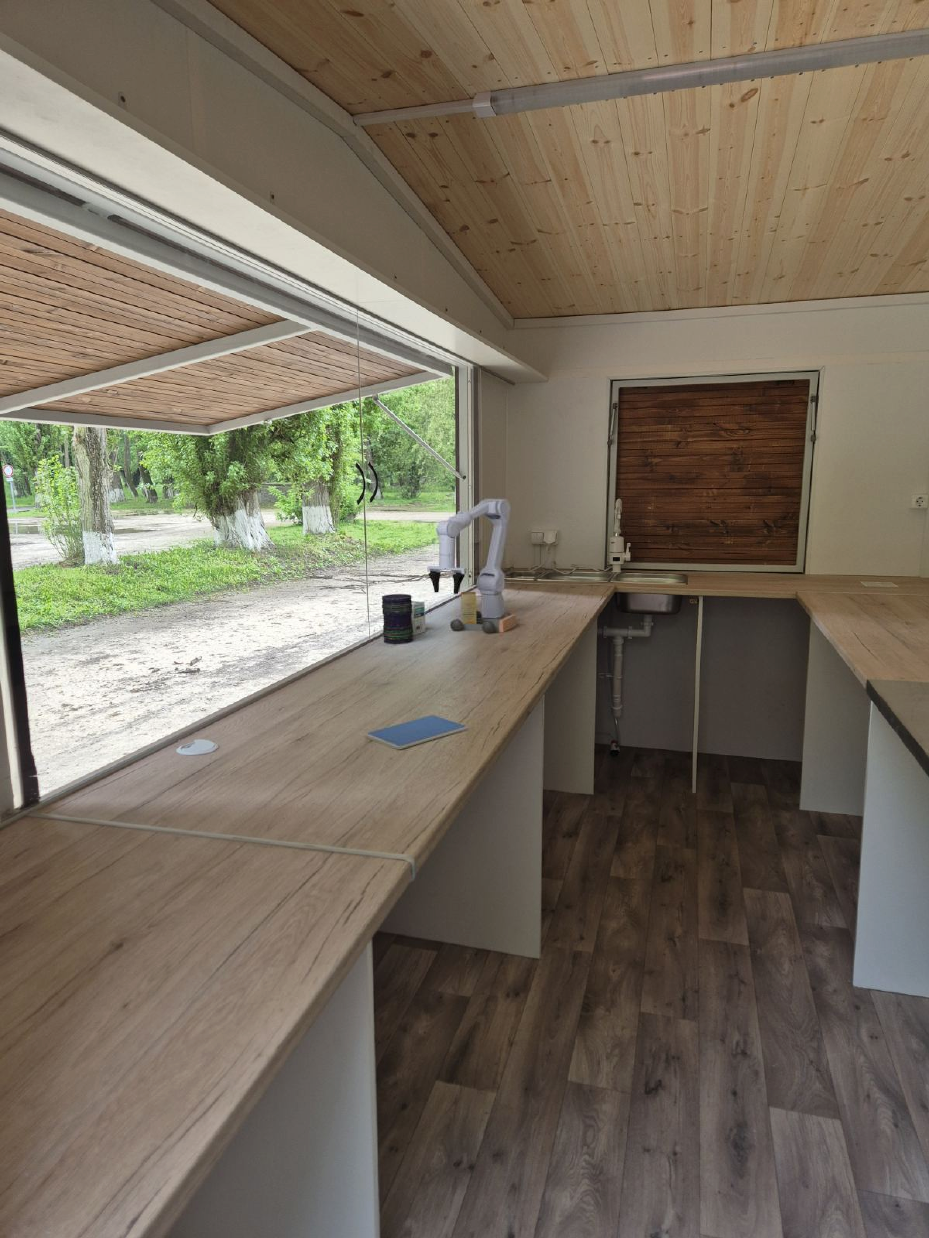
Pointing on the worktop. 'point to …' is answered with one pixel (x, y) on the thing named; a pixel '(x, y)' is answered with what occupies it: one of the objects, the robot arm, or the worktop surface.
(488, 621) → the chassis
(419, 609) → the light bulb box
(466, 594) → the shoe polish box
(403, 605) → the storage jar
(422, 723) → the tablet computer
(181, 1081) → the worktop surface
